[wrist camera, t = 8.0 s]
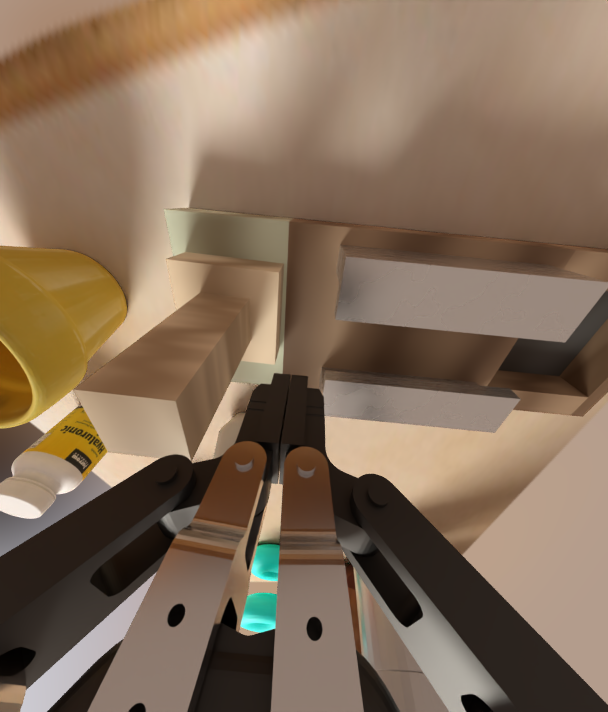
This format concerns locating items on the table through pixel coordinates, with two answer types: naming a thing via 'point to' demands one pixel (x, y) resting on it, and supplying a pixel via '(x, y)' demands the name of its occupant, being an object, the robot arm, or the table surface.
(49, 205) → the table surface
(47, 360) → the plant pot
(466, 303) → the grey slotted block
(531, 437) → the table surface
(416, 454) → the table surface
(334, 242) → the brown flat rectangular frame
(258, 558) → the donuts
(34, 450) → the supplement bottle
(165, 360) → the slider block
